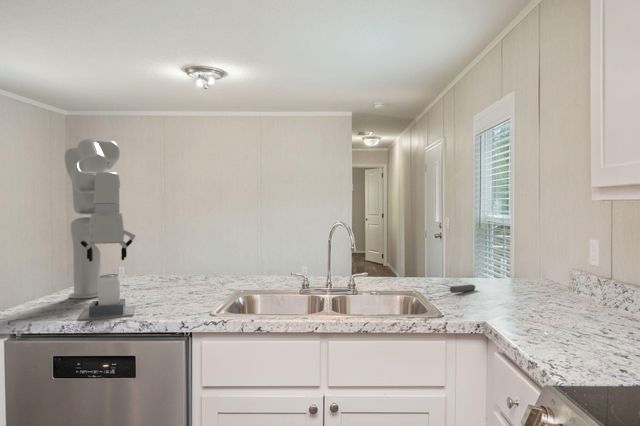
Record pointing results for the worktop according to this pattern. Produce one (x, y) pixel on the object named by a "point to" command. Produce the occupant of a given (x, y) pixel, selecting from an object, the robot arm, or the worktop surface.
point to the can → (108, 289)
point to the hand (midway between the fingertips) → (107, 260)
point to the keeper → (106, 311)
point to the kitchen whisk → (455, 289)
